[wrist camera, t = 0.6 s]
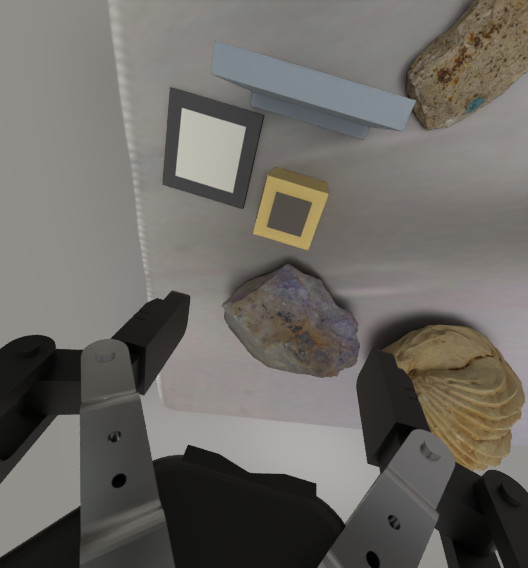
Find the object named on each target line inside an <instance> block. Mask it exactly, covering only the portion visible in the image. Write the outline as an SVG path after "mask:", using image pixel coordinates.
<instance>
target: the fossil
mask: <svg viewBox="0 0 528 568" xmlns="http://www.w3.org/2000/svg"><path fill="white" fill-rule="evenodd" d="M382 351H385V352H389V353H392V354H393V355H394V357H395V360H396V363H397V366H398V368H401V369H403V370H404V371H405V372H406V374H407V375H408V376H409V377H410V379H411V380H412V383H413V385H414V388H415V393H417V396H418V399H419V402H420V404H421V406H422V409H423V412H424V414H425V417H426V420H427V422H428V425H429V428H430V430H431V433H432V434H434V435H436V436H437V437H438V438H440V439H441V440H442V441H443V442H444V443H445V444H446V445H447V447H448V448H449V449H450V451H451V452H452V454H453V457H454V460H455V461H456V462H457V463H459V464H460V465H462V466H464V467H466V468H467V469H469V470H471V471H474V469H476V470H480V471H482V470H485V469H486V468H487V467H488V466H493V467H496V466H498V465H500V463H501V459H502V458H503V457H505V456H507V455H508V454H509V452H510V446H511V439H512V434H511V430H510V428H511V427H512V425H513V424H515V423H516V422H517V421H518V420H519V419H521V408H522V407H523V404H524V403H525V395H524V392H523V388H522V382H521V381H520V379H519V378H518V376H517V375H516V374H515V372H514V371H513V370H512V368H511V367H510V365H509V364H508V363H507V362H506V361H505V360H504V357H503V356H502V354H501V353H500V352H499V350H498V349H497V348H495V347H494V346H493V344H492V343H491V342H490V341H489V339H488V338H487V337H485V336H483V335H482V334H480V333H479V332H477V331H476V330H474V329H472V328H469V327H465V326H450V325H436V326H433V325H428V326H426V327H425V328H421V329H419V330H415V331H411V332H409V333H408V334H406V335H405V336H403V337H402V338H401V339H399V340H398V341H396V342H394V343H392V344H391V345H389V346H387V347H386V348H384V349H382Z"/></svg>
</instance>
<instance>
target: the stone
mask: <svg viewBox="0 0 528 568" xmlns="http://www.w3.org/2000/svg"><path fill="white" fill-rule="evenodd" d="M222 307H223V308H224V309H225V314H224V318H225V321H226V323H227V324H228V327H229V328H230V329H231V330H232V332H233V333H234V334H235V335H236V336H237V338H238V339H239V340H240V342H241V343H242V344H243V345H244V346H245V348H246V349H247V351H248V352H249V353H250V354H251V355H252V356H253V357H254V358H256V359H257V360H259V361H260V362H262V363H263V364H264V365H266V366H267V367H270V368H274V369H279V370H283V371H288V372H292V373H297V374H307V375H312V376H316V377H321V378H324V377H332V376H337V375H338V374H339V372H340V371H341V370H343V369H344V368H349V367H352V366H353V365H355V364H356V362H357V357H358V352H359V348H360V343H359V341H358V339H357V337H356V333H357V331H358V323H357V321H356V320H355V319H354V316H353V314H352V313H351V312H349V311H347V310H345V309H343V308H340V307H338V306H337V305H336V304H335V302H334V300H333V298H332V296H331V294H330V293H329V291H328V290H327V289H326V288H325V286H324V283H323V281H322V280H321V279H320V278H319V279H316V278H315V277H313V276H311V275H307V274H304V273H302V272H301V271H299V270H298V269H296V268H295V267H293V266H292V265H290V264H289V263H288V264H286V265H284V266H283V267H282V268H279V269H278V270H275V271H274V272H272V273H269V274H267V275H264V276H260V277H257V278H253V279H251V280H250V281H248V282H246V283H244V284H243V285H241V286H240V287H239V288H238V289H237V290H236V292H235V293H234V294H233V295H232V296H231V297H230V298H229V299H228V300H227V301H225V302H224V303H223V304H222Z"/></svg>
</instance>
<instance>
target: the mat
mask: <svg viewBox="0 0 528 568" xmlns="http://www.w3.org/2000/svg"><path fill="white" fill-rule="evenodd" d="M263 119H264V115H261V114H258V113H255V112H251V111H248V110H245V109H241V108H238V107H235V106H231V105H228V104H225V103H221V102H218V101H215V100H211V99H208V98H205V97H201V96H198V95H195V94H192V93H188V92H185V91H182V90H178V89H175V88H171V87H170V94H169V107H168V120H167V133H166V146H165V159H164V172H163V185H166V186H169V187H172V188H176V189H179V190H182V191H185V192H189V193H192V194H195V195H199V196H202V197H205V198H208V199H212V200H215V201H218V202H221V203H225V204H228V205H231V206H234V207H238V208H241V209H243V208H244V204H245V199H246V195H247V190H248V186H249V181H250V177H251V172H252V168H253V163H254V159H255V154H256V150H257V146H258V141H259V137H260V132H261V128H262V123H263Z"/></svg>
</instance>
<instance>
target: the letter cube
mask: <svg viewBox="0 0 528 568" xmlns="http://www.w3.org/2000/svg"><path fill="white" fill-rule="evenodd" d="M328 195H329V192H328V184H327V182H324V181H321V180H317V179H314V178H311V177H307V176H304V175H301V174H298V173H294V172H291V171H288V170H284V169H281V168H278V167H275V168H274V169H273V170H272V171H271V172H270V173H269V175H268V176H267V180H266V184H265V185H264V189H263V193H262V197H261V201H260V205H259V209H258V213H257V217H256V219H257V220H256V224H255V228H254V232H253V234H256V235H259V236H263V237H266V238H269V239H272V240H276V241H279V242H282V243H285V244H289V245H292V246H295V247H298V248H302V249H305V250H308V249H309V247H310V244H311V241H312V238H313V236H314V233H315V230H316V227H317V225H318V222H319V219H320V217H321V214H322V211H323V208H324V206H325V203H326V200H327V197H328Z"/></svg>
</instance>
